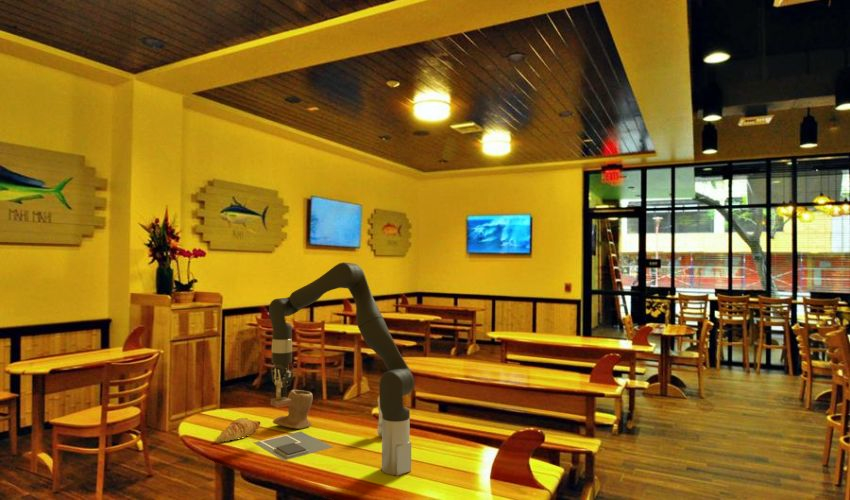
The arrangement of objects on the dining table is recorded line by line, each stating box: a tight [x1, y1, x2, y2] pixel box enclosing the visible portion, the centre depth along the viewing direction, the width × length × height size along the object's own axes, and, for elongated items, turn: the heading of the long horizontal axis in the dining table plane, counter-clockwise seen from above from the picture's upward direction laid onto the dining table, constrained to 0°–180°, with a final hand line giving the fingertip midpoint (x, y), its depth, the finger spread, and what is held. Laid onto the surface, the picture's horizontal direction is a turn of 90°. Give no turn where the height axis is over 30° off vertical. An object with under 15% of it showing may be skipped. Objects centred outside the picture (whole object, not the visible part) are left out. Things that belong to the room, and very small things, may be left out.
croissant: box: [216, 417, 261, 443], centre depth 205 cm, size 21×10×8 cm, turn 153°
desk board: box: [253, 431, 333, 461], centre depth 193 cm, size 24×20×2 cm
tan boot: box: [272, 389, 314, 430], centre depth 218 cm, size 15×12×15 cm
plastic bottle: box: [376, 394, 382, 438], centre depth 205 cm, size 6×7×20 cm
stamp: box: [270, 378, 291, 409], centre depth 196 cm, size 6×6×10 cm
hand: (281, 395), depth 196 cm, fingers closed on stamp, 3 cm apart
